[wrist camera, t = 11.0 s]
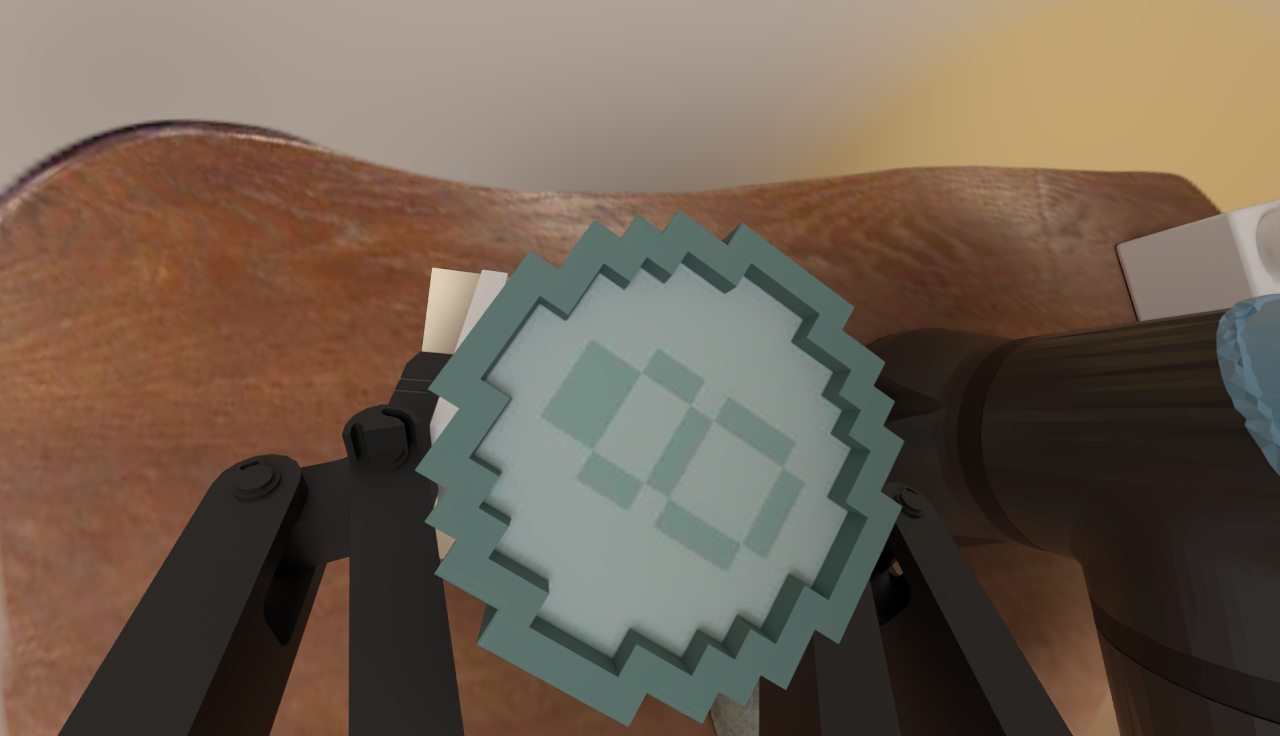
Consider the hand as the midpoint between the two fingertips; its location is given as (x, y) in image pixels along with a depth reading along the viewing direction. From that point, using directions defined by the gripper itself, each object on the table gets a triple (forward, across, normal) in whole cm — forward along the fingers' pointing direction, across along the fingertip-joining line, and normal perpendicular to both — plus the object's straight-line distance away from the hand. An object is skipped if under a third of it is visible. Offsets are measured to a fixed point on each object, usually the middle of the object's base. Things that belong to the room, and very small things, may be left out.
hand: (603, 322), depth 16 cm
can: (+1, 0, -6) cm, 7 cm away
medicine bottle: (+19, +50, -1) cm, 54 cm away
